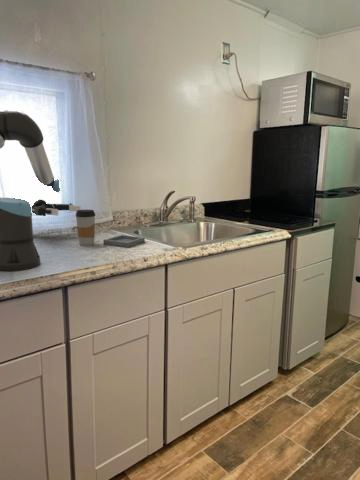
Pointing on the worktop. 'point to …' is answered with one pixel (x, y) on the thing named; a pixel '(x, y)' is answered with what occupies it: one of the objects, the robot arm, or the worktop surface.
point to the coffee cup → (86, 227)
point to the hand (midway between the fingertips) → (69, 210)
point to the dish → (124, 241)
